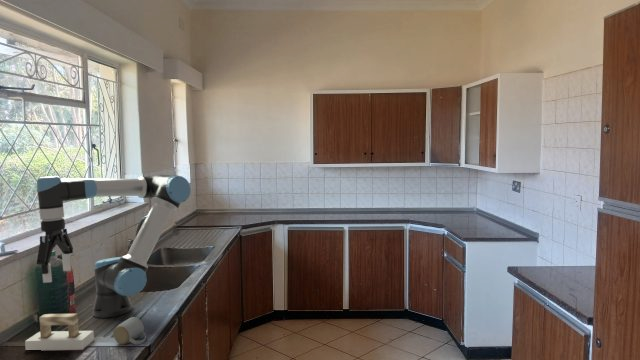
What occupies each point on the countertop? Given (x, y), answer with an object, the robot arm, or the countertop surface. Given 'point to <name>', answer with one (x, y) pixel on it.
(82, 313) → the countertop surface
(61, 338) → the white flat block
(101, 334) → the countertop surface
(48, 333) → the clip
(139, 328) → the ceramic mug
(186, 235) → the countertop surface
